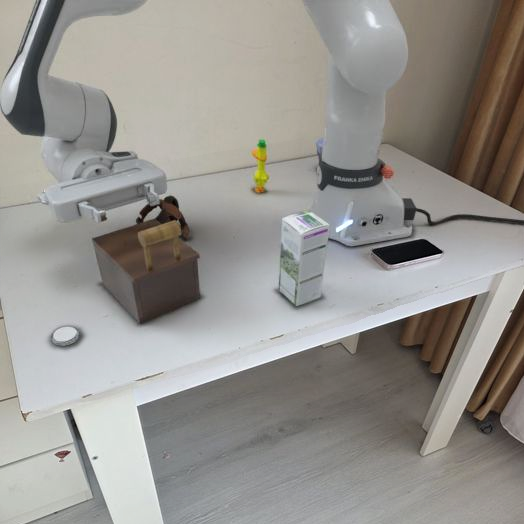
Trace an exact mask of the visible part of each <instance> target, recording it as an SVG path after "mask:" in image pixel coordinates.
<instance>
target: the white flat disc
mask: <svg viewBox="0 0 524 524" xmlns="http://www.w3.org/2000/svg"><path fill="white" fill-rule="evenodd" d="M50 338H51V340H52V343H53V344H54V345H56V346H69V345H72V344H73V343H75V342H76V341H78V340H79V338H80V332H79V329H77V327H75V326H71V325H65V326H64V325H63V326H61V327H58V328H56V329H55V330H54V331H53V332H52V333H51V337H50Z"/></svg>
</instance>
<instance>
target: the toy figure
mask: <svg viewBox="0 0 524 524" xmlns="http://www.w3.org/2000/svg"><path fill="white" fill-rule="evenodd" d="M266 141H267V140H265V139H259V140H258V143H257V144H256V149H252V150H251V155H252V157H253V158H255V159H256V161H257V170H256V171H255V172H254V177H253V181H254V183H255V184H256V187H254V191H255V192H256V193H258V194H260V193H265V189H264V187H265V186H266V184H267V183H268V180H269V179H270V174H269V173H267V171H266V169H265V168H266V161H267V160H268V157H267V156H268V155H267V144H266Z"/></svg>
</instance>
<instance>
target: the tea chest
mask: <svg viewBox="0 0 524 524" xmlns="http://www.w3.org/2000/svg"><path fill="white" fill-rule="evenodd" d="M92 243H93V242H92ZM93 248H94V249H93V250H94V253H95V257H96V261H97V265H98V269H99V273H100V277H101V283H102V285H103V286H104V287H105V288H106V289H107V290H108V291H109V293H111V294H112V295H113V297H114V298H115V299H116V300H117V302H119V303H120V304H121V305H122V307H124V308H125V309H126V311H127V312H128V313H129V314H130V315H131V316H132V317H133V318H134V319H135V320H136V321H137V322H138V323H139V324H142V323H145V322H147V321H149V320H152V319H154V318H156V317H158V316H161V315H163V314H166V313H168V312H170V311H173V310H175V309H178V308H180V307H183V306H184V305H187V304H189V303H192V302H194V301H196V300H199V299H200V298H201V289H200V288H201V287H200V273H199V264H198V263H199V262H198V260H199V259H197V260H194V261H191V262H189V263H186V264H184V265H181V266H178V267H176V268H173V269H170V270H168V271H165V272H163V273H160V274H157V275H155V276H152V277H150V278H147V279H144V280H142V281H139V282H136V283H133V282H132V281H131V280H130V279H129V278H128V277H127V276H126V275H125V274H124V273H123V272H122V271H121V270H120V269H119V268H118V267H117V266H116V265H115V264H114V263H113V262H112V261H111V260H110V259H109V258H108V257H107V256H106V255H105V254H104V253H103V252H102V251H101V250H100V249H99V248H98V247H97V246H96V245H95V244H94V243H93Z"/></svg>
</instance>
